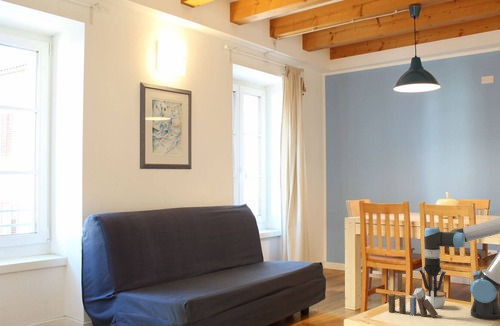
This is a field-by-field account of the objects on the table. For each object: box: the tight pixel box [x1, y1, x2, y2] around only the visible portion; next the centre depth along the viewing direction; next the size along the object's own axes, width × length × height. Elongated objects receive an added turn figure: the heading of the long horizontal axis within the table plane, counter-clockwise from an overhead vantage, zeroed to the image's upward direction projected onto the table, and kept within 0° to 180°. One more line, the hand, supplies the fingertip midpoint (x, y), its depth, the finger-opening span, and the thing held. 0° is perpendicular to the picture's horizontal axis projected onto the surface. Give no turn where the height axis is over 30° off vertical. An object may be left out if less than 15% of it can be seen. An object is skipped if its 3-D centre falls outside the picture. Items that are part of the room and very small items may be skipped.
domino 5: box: [422, 298, 439, 319], centre depth 267 cm, size 2×5×9 cm
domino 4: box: [416, 297, 428, 317], centre depth 269 cm, size 2×5×9 cm, turn 148°
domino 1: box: [388, 293, 396, 314], centre depth 277 cm, size 2×5×9 cm, turn 148°
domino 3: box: [409, 295, 417, 316], centre depth 271 cm, size 2×5×9 cm, turn 148°
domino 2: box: [398, 294, 407, 315], centre depth 274 cm, size 2×5×9 cm, turn 148°
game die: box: [411, 286, 427, 300], centre depth 301 cm, size 9×8×10 cm
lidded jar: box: [425, 290, 446, 309], centre depth 286 cm, size 11×11×9 cm
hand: (432, 303), depth 266 cm, fingers closed
